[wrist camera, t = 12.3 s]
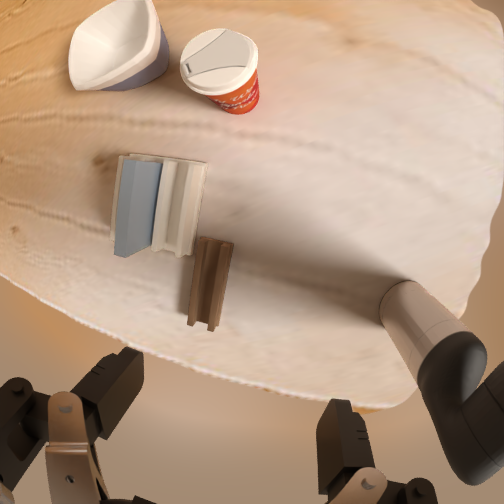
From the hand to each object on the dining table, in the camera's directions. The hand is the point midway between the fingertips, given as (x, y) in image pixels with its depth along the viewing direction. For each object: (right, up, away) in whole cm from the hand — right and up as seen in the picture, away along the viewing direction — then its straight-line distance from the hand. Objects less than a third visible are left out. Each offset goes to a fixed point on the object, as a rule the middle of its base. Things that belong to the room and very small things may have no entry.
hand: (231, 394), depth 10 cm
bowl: (-18, +39, +26) cm, 50 cm away
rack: (-13, +14, +32) cm, 37 cm away
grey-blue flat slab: (-13, +13, +30) cm, 36 cm away
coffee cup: (-1, +29, +27) cm, 39 cm away
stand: (-6, +1, +34) cm, 34 cm away
